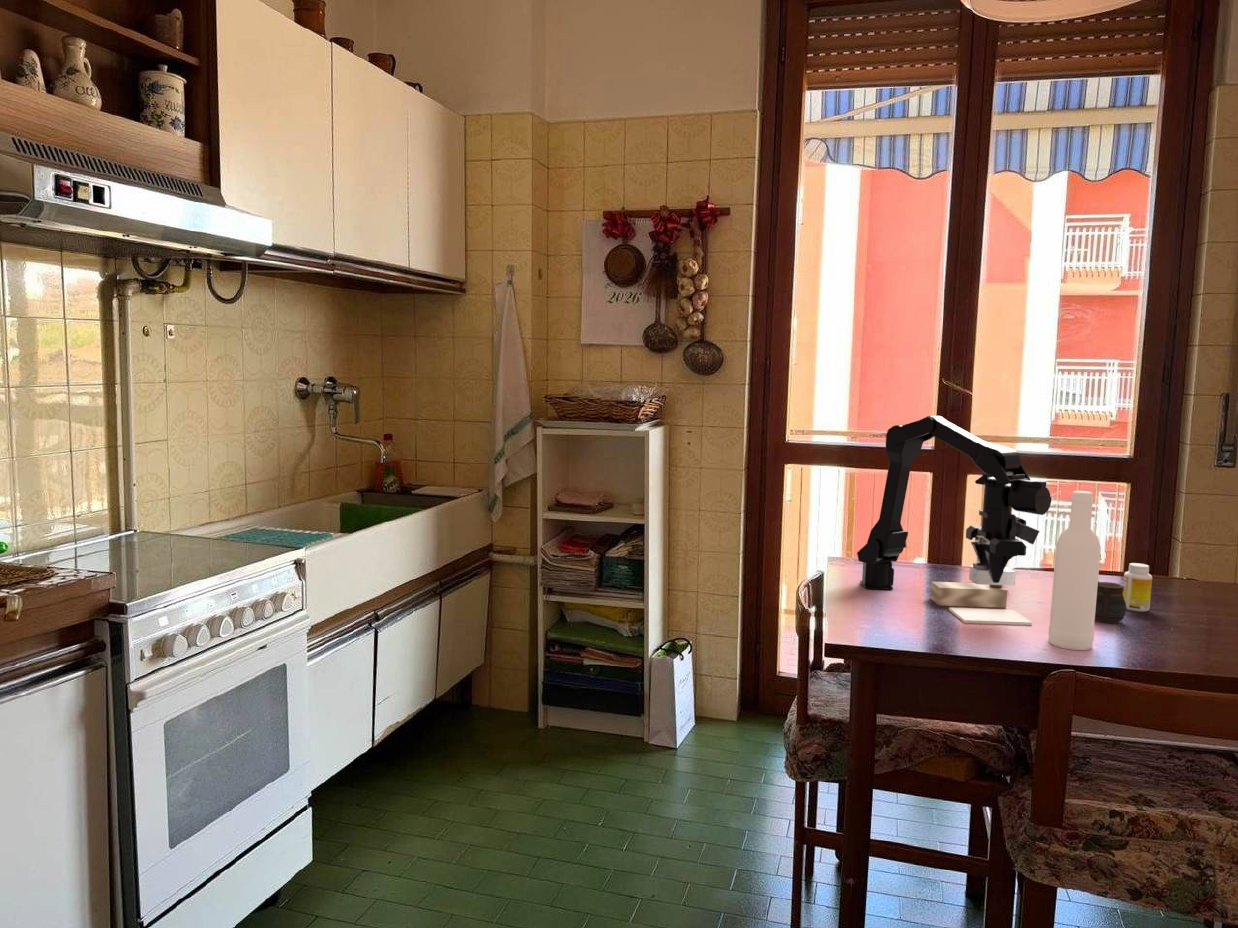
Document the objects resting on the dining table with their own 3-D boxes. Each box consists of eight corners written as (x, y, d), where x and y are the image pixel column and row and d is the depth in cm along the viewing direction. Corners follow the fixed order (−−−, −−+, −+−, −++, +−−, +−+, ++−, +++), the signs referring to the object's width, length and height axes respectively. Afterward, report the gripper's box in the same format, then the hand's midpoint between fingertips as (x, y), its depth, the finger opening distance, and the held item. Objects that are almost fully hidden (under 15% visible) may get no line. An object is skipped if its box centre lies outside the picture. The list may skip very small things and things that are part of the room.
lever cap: (976, 584, 195) (977, 566, 194) (969, 579, 199) (970, 561, 199) (1014, 585, 195) (1016, 567, 194) (1006, 580, 199) (1007, 563, 199)
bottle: (1102, 650, 177) (1116, 494, 173) (1066, 651, 175) (1079, 495, 172) (1073, 637, 184) (1086, 489, 181) (1038, 639, 183) (1051, 489, 179)
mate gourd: (1125, 627, 193) (1128, 580, 192) (1084, 621, 197) (1087, 576, 196) (1126, 619, 199) (1130, 574, 198) (1087, 614, 203) (1090, 569, 202)
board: (964, 622, 193) (964, 619, 193) (948, 610, 203) (949, 607, 203) (1032, 625, 193) (1032, 622, 193) (1013, 612, 203) (1013, 609, 202)
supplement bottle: (1155, 611, 207) (1159, 566, 206) (1136, 613, 205) (1140, 568, 204) (1133, 605, 212) (1137, 561, 211) (1115, 606, 210) (1119, 562, 209)
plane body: (938, 605, 207) (940, 579, 206) (930, 598, 213) (932, 572, 212) (1006, 607, 207) (1008, 581, 206) (996, 600, 212) (998, 575, 212)
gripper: (1055, 516, 186) (1048, 592, 188) (1018, 502, 204) (1012, 571, 206) (999, 514, 186) (993, 590, 188) (967, 500, 205) (962, 569, 206)
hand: (991, 579), depth 197 cm, fingers closed on lever cap, 5 cm apart
